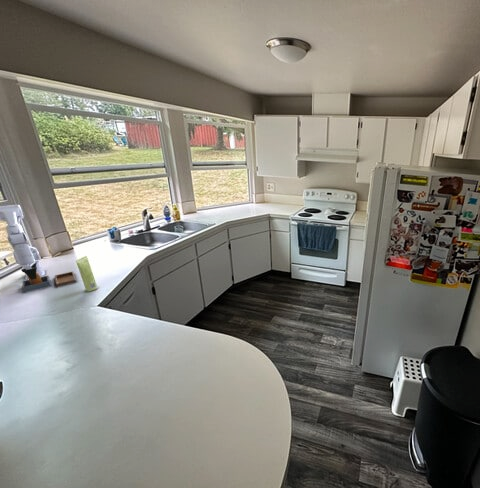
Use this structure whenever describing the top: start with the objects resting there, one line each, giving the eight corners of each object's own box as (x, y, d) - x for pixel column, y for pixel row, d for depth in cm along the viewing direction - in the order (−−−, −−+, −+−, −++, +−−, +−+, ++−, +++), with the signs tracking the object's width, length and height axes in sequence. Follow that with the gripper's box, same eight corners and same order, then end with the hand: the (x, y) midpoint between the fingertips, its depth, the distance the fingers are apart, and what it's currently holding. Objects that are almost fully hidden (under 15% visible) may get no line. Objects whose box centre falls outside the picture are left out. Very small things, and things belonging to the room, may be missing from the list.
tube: (85, 289, 143) (74, 257, 136) (96, 285, 147) (86, 255, 140) (87, 292, 140) (75, 260, 133) (98, 289, 143) (88, 258, 136)
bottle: (32, 285, 144) (25, 269, 140) (43, 283, 147) (36, 267, 143) (32, 288, 141) (25, 272, 138) (43, 285, 144) (36, 270, 141)
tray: (55, 278, 154) (54, 275, 153) (74, 274, 159) (73, 271, 159) (57, 287, 144) (55, 284, 143) (76, 282, 150) (75, 279, 149)
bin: (24, 286, 144) (22, 281, 143) (50, 280, 151) (48, 275, 150) (24, 293, 137) (21, 287, 136) (51, 286, 145) (48, 281, 143)
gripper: (35, 256, 136) (44, 278, 140) (35, 249, 145) (43, 270, 149) (15, 260, 131) (25, 283, 135) (16, 252, 140) (26, 274, 145)
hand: (33, 276), depth 142 cm, fingers open, 7 cm apart
